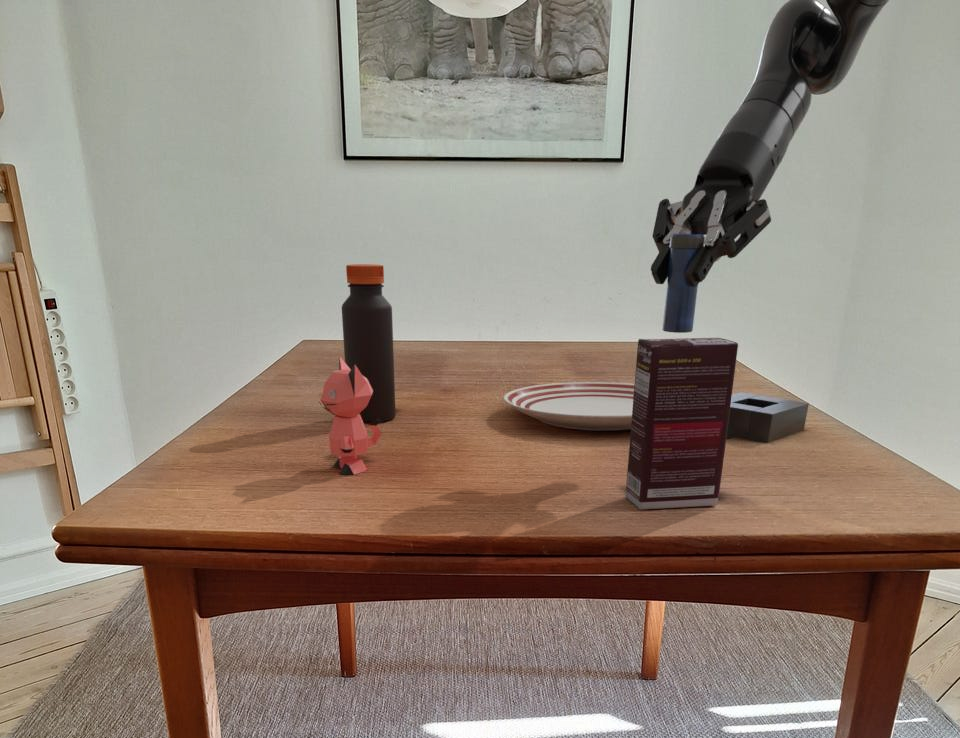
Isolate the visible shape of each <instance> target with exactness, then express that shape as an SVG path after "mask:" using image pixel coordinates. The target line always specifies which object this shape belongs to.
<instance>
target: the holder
mask: <svg viewBox="0 0 960 738" xmlns="http://www.w3.org/2000/svg"><path fill="white" fill-rule="evenodd" d="M809 404H810V403H809V402H805V401H798V400H797V401H796V400H791V399H785V398H778V397H772V396H765V395H760V394H759V395H758V394H753V393H748V392H747V393H746V392H741V391H740V392H736V393H732V397H731V405H730V413H729V422H728V429H727V437H726V441H727V440H731V439H733V438H740V439H744V440H745V439H746V440H751V441H755V442H760V443H766V444H769V443H772V442H775V441H777V440H781V439H783V438H788V437H790V436H792V435H795V434H797V433H801V432H803V431H805V426H806V422H807V416H808V410H809V406H810V405H809Z"/></svg>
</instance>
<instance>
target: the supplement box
mask: <svg viewBox="0 0 960 738" xmlns="http://www.w3.org/2000/svg"><path fill="white" fill-rule="evenodd" d="M738 349H739V343H738V342H736V341H734V340H730V339H727V338H726V339H725V338H722V337H692V338H689V337H688V338H687V337H686V338H638V340H637V349H636V350H637V351H636V360H635V361H636V362H635V374H634V384H635V385H634V396H633V409H632V422H631V430H630V436H629V447H628V448H629V449H628V461H627V472H626V483H625V498H627V499H628V500H629V501H630V502H631V503H632V504H633V505H634V506H635V507H636V508H638V509H639V510H640V511H643V510H658V509H659V510H661V509H674V508H679V509H680V508H693V507H712V506H718V504H719V497H720V490H721V482H722V474H723V467H724V462H725V461H724V460H725V459H724V458H725V453H726V443H727V440H726V437H727V429H728V422H729V413H730V405H731V397H732V395H733V389H734V388H733V387H734V381H735V372H736V367H737V366H736V365H737V359H738V358H737V357H738Z"/></svg>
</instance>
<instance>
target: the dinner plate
mask: <svg viewBox="0 0 960 738" xmlns="http://www.w3.org/2000/svg"><path fill="white" fill-rule="evenodd" d="M634 385H635V383H629V382H628V383H627V382H610V381H609V382H605V381H571V382H570V381H569V382H555V383H545V384H536V385H529V386H525V387H521V388H516V389H513V390H510V391H508V392H507V393H505V394H504V396H503V401H504V402H505V403H506V404H507V405H509V406H510V407H512V408H513V409H514V410H516V411H518V412H519V413H522V414H524V415H526V416H529V417H531V418H534V419H537V420H538V421H540V422H542V423H544V424H547V425H550V426H554V427H557V428H564V429H570V430H580V431H597V432H604V431H605V432H611V431H613V432H614V431H615V432H616V431H629V430H630V431H631V422H632V409H633V396H634Z"/></svg>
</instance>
